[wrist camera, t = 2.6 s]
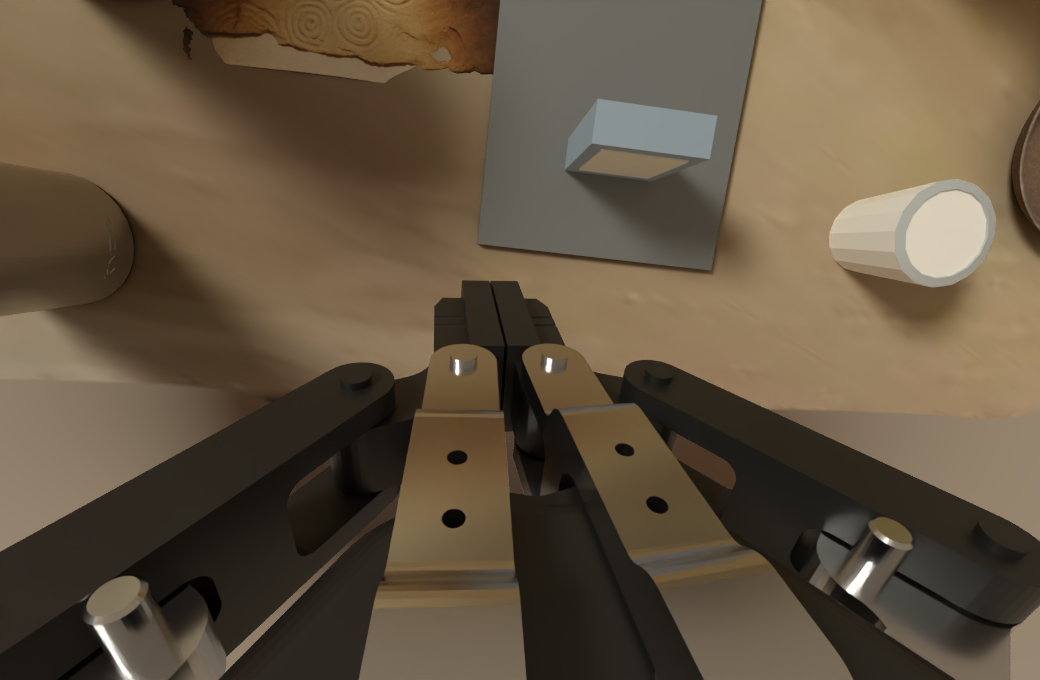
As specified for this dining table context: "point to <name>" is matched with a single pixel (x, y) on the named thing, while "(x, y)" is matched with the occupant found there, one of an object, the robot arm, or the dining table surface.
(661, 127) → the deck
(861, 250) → the white tapered cup
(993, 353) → the dining table surface
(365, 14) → the parchment
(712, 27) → the mat
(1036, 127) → the saucer
